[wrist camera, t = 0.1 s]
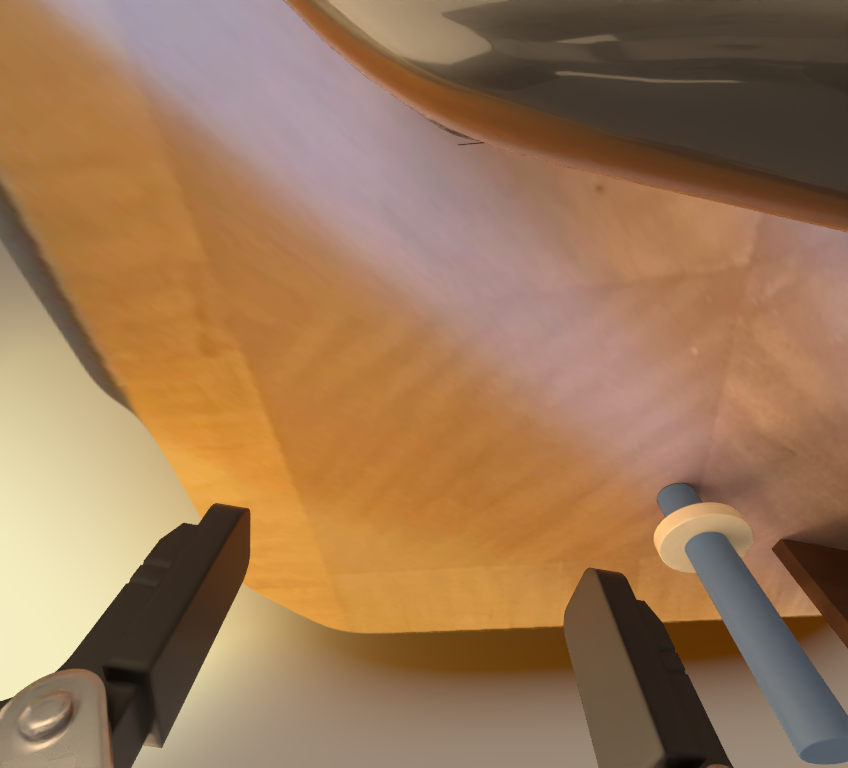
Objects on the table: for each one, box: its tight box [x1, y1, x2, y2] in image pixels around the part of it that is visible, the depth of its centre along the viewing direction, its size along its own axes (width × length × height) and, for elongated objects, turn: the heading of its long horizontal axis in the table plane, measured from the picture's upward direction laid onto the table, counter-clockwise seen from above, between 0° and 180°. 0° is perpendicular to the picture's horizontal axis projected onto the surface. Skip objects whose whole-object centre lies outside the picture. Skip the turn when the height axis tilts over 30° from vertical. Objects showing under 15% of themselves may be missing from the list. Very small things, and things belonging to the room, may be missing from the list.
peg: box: [654, 483, 848, 764], centre depth 25 cm, size 6×6×15 cm
